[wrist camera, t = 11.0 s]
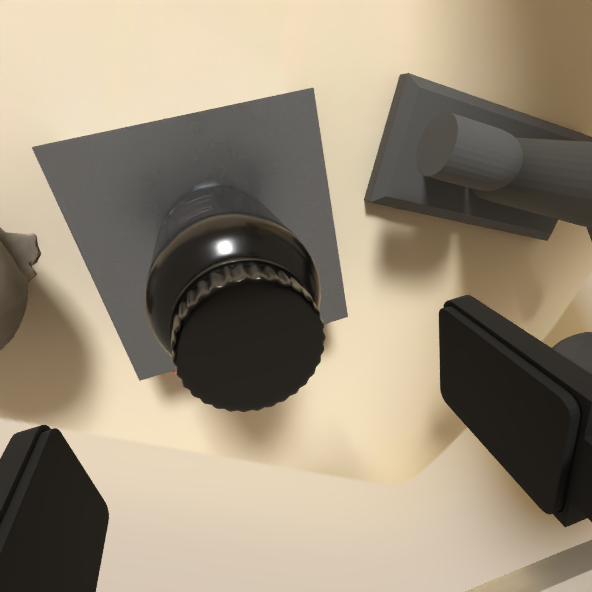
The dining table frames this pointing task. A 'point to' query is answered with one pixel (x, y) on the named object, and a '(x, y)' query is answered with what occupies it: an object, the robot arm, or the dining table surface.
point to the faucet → (483, 169)
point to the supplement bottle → (234, 300)
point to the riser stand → (180, 182)
